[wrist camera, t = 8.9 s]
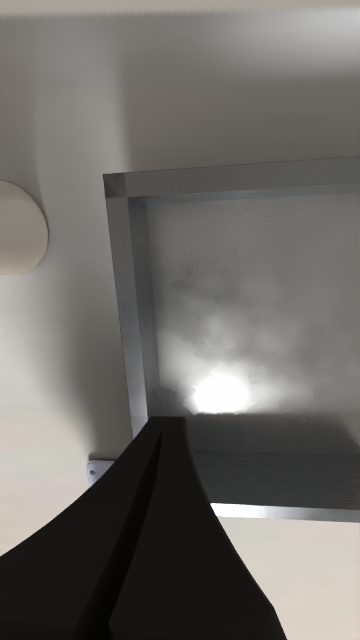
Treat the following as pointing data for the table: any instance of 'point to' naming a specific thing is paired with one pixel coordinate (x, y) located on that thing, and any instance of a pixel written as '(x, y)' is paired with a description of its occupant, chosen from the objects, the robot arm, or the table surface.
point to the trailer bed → (247, 326)
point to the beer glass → (20, 231)
